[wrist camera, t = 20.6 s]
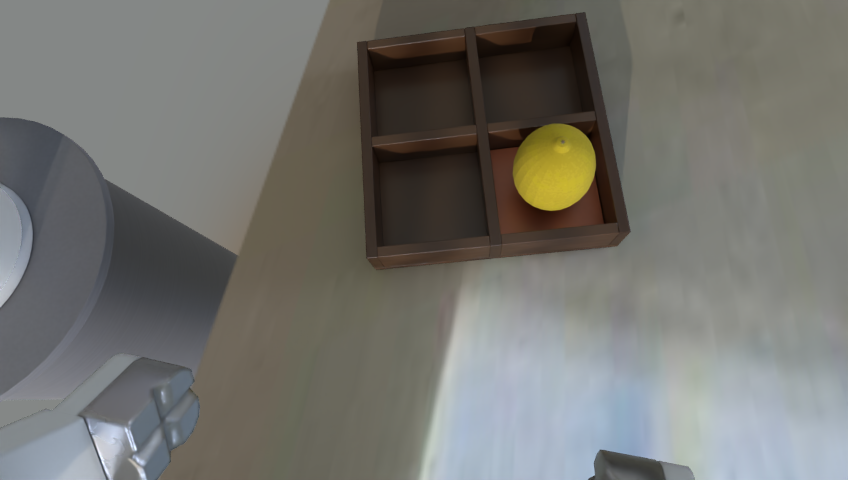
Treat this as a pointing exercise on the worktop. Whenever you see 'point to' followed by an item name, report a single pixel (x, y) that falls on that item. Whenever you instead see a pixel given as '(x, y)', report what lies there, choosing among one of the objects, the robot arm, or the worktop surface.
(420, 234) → the grid
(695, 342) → the worktop surface
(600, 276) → the worktop surface
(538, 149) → the lemon
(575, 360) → the worktop surface
